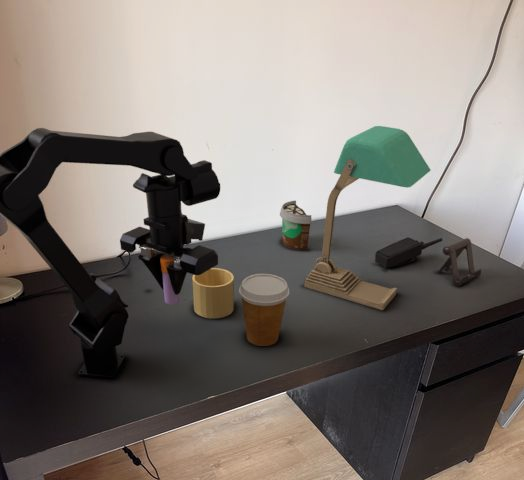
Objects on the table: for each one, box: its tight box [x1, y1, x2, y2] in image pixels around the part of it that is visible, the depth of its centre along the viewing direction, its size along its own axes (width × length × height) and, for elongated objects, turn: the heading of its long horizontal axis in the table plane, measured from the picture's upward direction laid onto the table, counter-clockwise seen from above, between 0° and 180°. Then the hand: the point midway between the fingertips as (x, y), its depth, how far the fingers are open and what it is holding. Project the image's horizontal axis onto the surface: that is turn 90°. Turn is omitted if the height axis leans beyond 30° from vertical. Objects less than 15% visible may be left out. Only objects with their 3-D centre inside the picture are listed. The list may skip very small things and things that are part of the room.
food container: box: [279, 200, 312, 251], centre depth 140 cm, size 12×6×10 cm, turn 17°
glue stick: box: [160, 255, 180, 305], centre depth 98 cm, size 3×3×9 cm
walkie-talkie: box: [374, 237, 443, 269], centre depth 136 cm, size 6×6×20 cm
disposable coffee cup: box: [238, 273, 290, 347], centre depth 102 cm, size 10×10×12 cm
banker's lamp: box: [304, 125, 431, 311], centre depth 112 cm, size 16×21×35 cm
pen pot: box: [191, 267, 235, 319], centre depth 112 cm, size 9×9×8 cm
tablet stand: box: [437, 237, 482, 287], centre depth 128 cm, size 9×8×8 cm
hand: (171, 291), depth 100 cm, fingers closed on glue stick, 3 cm apart
